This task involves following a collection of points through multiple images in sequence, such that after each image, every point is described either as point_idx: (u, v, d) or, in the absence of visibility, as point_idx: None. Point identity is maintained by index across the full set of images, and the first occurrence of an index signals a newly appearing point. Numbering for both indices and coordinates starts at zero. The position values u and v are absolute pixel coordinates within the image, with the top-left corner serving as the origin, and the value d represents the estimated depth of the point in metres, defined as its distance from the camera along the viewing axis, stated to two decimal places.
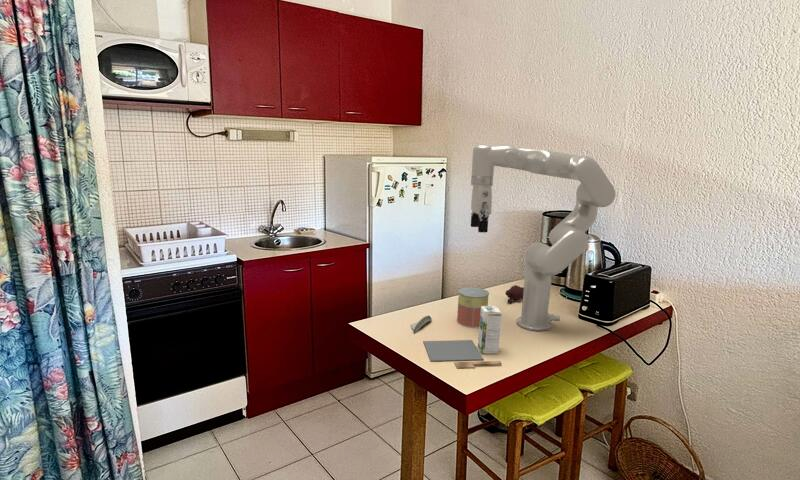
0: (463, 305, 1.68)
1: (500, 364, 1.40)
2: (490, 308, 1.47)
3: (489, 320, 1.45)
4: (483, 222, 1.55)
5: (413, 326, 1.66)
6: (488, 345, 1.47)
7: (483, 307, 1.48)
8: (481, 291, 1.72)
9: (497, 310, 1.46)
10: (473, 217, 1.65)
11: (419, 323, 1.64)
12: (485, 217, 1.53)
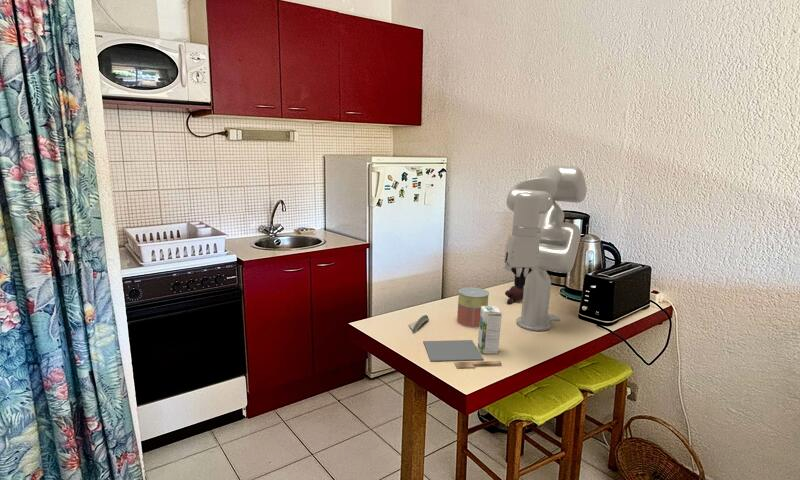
0: (463, 305, 1.68)
1: (500, 364, 1.40)
2: (490, 308, 1.47)
3: (489, 320, 1.45)
4: None
5: (411, 326, 1.66)
6: (488, 345, 1.47)
7: (483, 307, 1.48)
8: (481, 291, 1.72)
9: (497, 310, 1.46)
10: None
11: (418, 322, 1.65)
12: None
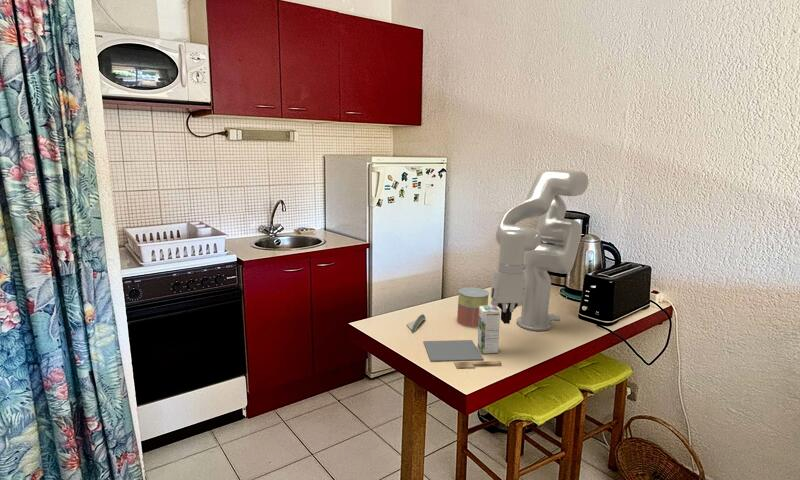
0: (463, 305, 1.68)
1: (500, 364, 1.40)
2: (488, 308, 1.47)
3: (487, 320, 1.45)
4: None
5: (410, 325, 1.66)
6: (488, 345, 1.47)
7: (481, 307, 1.48)
8: (481, 291, 1.72)
9: (495, 309, 1.46)
10: None
11: (416, 322, 1.65)
12: None
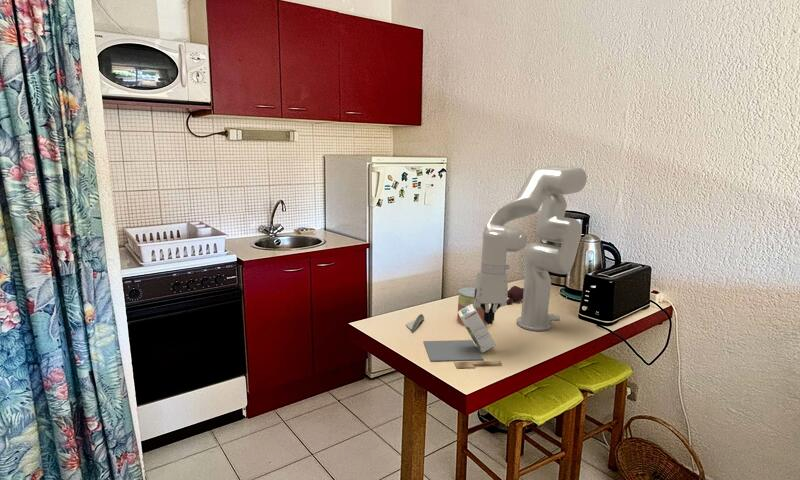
0: (463, 305, 1.68)
1: (500, 364, 1.40)
2: (465, 310, 1.47)
3: (469, 322, 1.45)
4: None
5: (409, 325, 1.66)
6: (483, 343, 1.46)
7: (459, 312, 1.48)
8: None
9: (471, 309, 1.46)
10: None
11: (416, 322, 1.65)
12: None
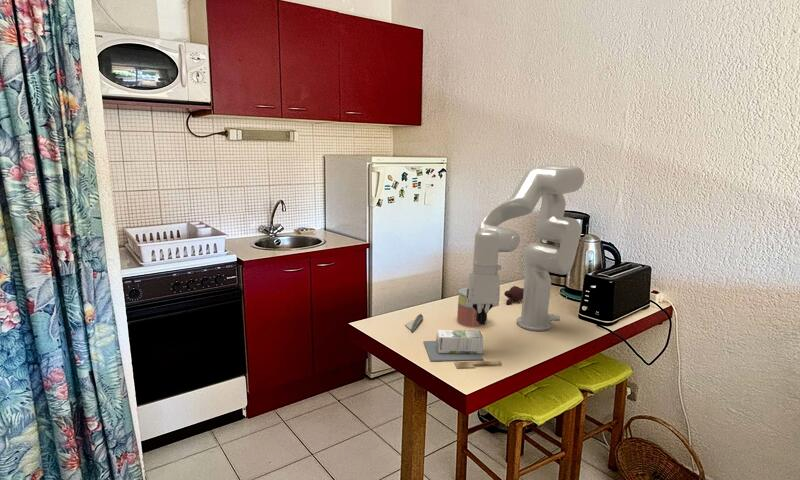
0: (463, 305, 1.68)
1: (500, 364, 1.40)
2: (437, 341, 1.48)
3: (446, 348, 1.45)
4: None
5: (408, 325, 1.66)
6: (473, 347, 1.46)
7: None
8: None
9: (438, 337, 1.46)
10: None
11: (415, 322, 1.65)
12: None
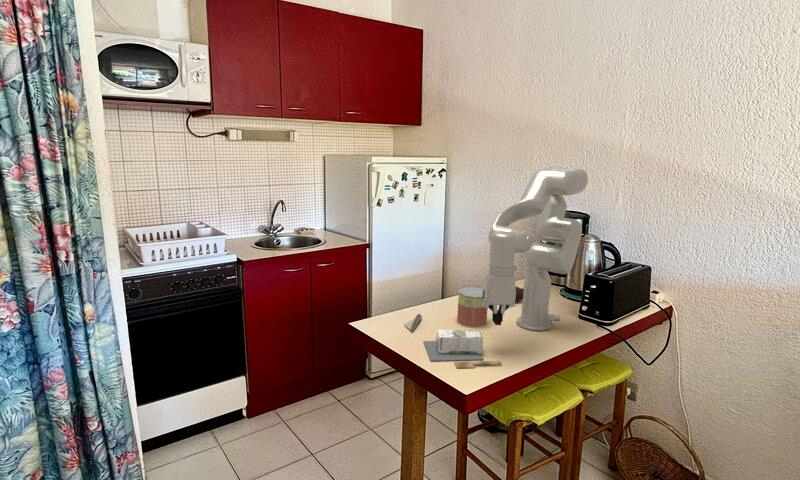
0: (463, 305, 1.68)
1: (500, 364, 1.40)
2: (437, 341, 1.48)
3: (446, 348, 1.45)
4: None
5: (408, 325, 1.66)
6: (473, 347, 1.46)
7: None
8: (481, 291, 1.72)
9: (438, 337, 1.46)
10: None
11: (414, 322, 1.65)
12: None
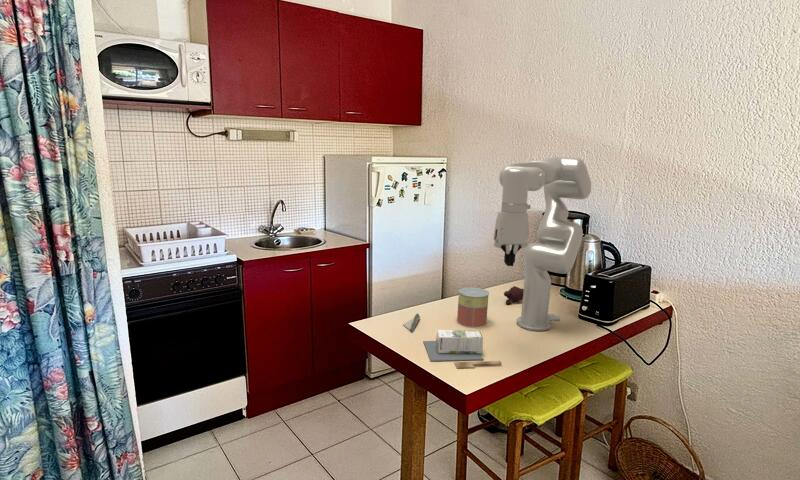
0: (463, 305, 1.68)
1: (500, 364, 1.40)
2: (437, 341, 1.48)
3: (446, 348, 1.45)
4: None
5: (407, 325, 1.66)
6: (473, 347, 1.46)
7: None
8: (481, 291, 1.72)
9: (438, 337, 1.46)
10: None
11: (414, 322, 1.65)
12: None
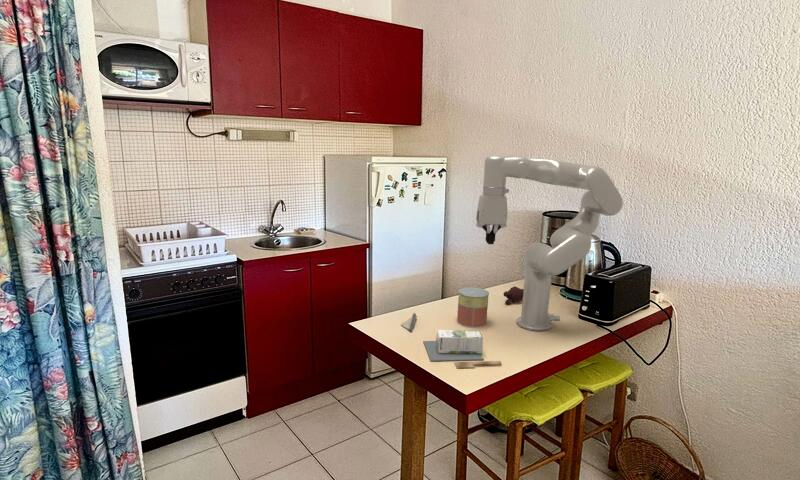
0: (463, 305, 1.68)
1: (500, 364, 1.40)
2: (437, 341, 1.48)
3: (446, 348, 1.45)
4: None
5: (405, 325, 1.66)
6: (473, 347, 1.46)
7: None
8: (481, 291, 1.72)
9: (438, 337, 1.46)
10: None
11: (412, 321, 1.66)
12: None
